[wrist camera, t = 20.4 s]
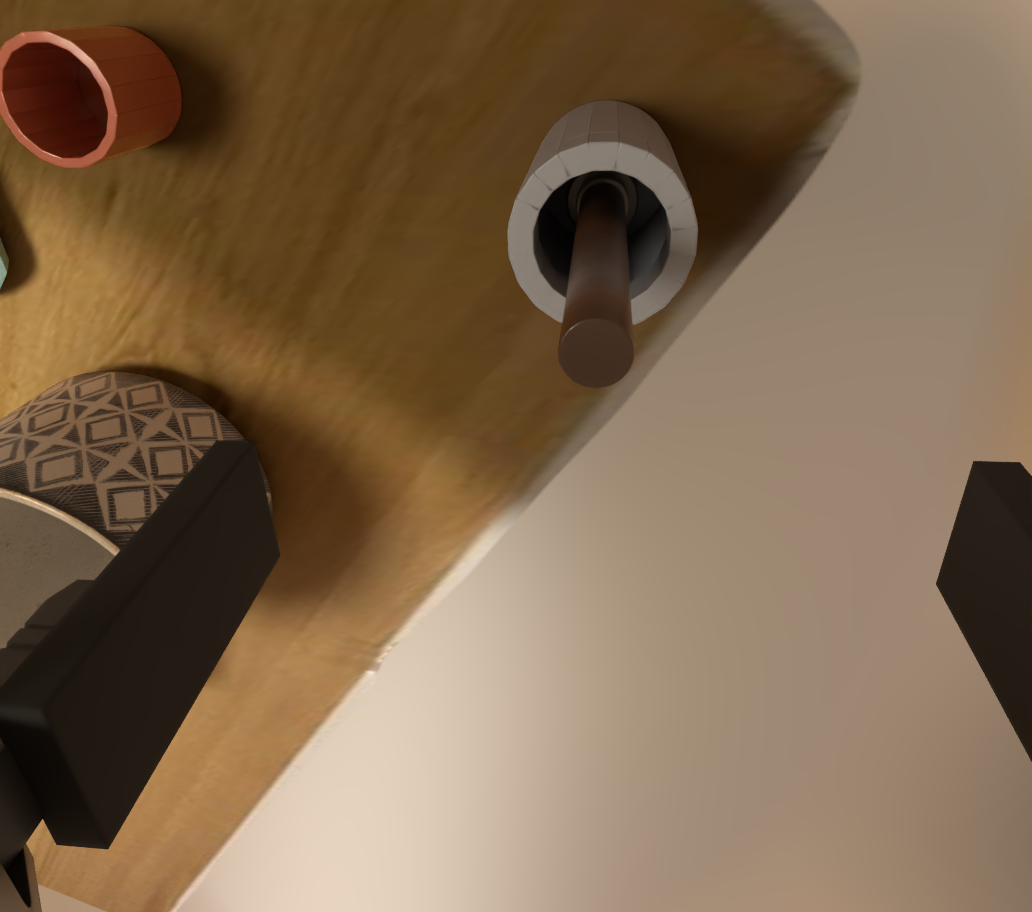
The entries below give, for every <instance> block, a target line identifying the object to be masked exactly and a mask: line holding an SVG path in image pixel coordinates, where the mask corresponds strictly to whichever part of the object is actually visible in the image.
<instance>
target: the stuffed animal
mask: <svg viewBox="0 0 1032 912" xmlns="http://www.w3.org/2000/svg"><path fill="white" fill-rule="evenodd" d="M8 264H9V258H8V256H7V254H6V251H5V249H4V246H3V244H2V240H1V237H0V289H1V286H2V284H3V281H4V279H5V277H6V274H7V270H8Z"/></svg>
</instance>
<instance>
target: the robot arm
mask: <svg viewBox="0 0 1032 912" xmlns="http://www.w3.org/2000/svg"><path fill="white" fill-rule="evenodd" d="M279 557H280V552H279V547H278V543H277V539H276V534H275V530H274V525H273V521H272V516H271V512H270V507H269V503H268V499H267V494H266V490H265V485H264V481H263V476H262V472H261V467H260V463H259V459H258V454H257V450H256V445H255V441H226V440H216V442H215V443H214V444H213V445H212V446H211V447H210V448H209V450H208V451H207V452H206V453H205V454H204V455H203V456H202V458H201V459H200V460H199V461H198V462H197V463H196V464H195V466H194V467H193V468H192V469H191V470H190V471H189V472H188V474H187V475H186V476H185V477H184V478H183V479H182V480H181V482H180V483H179V484H178V485H177V486H176V487H175V488H174V490H173V491H172V492H171V493H170V494H169V495H168V496H167V498H166V499H165V500H164V501H163V502H162V503H161V504H160V506H159V507H158V508H157V509H156V510H155V511H154V512H153V514H152V515H151V516H150V517H149V518H148V519H147V520H146V522H145V523H144V524H143V525H142V526H141V527H140V528H139V530H138V531H137V532H136V533H135V534H134V535H133V536H132V538H131V539H130V540H129V541H128V542H127V543H126V544H125V546H124V547H123V548H122V549H121V550H120V551H119V552H118V554H117V555H116V556H115V557H114V558H113V559H112V560H111V562H110V563H109V564H108V565H107V566H106V567H105V568H104V570H103V571H102V572H101V573H100V574H99V575H98V576H97V578H96V579H95V580H80V579H77V580H76V581H74V582H73V583H71V584H70V585H68V586H67V587H65V588H64V589H62V590H60V591H59V592H57V593H56V594H54V595H53V596H51V597H50V598H48V599H47V600H46V601H45V602H44V603H43V604H42V605H41V606H40V607H39V608H38V609H37V610H36V612H35V613H34V614H33V615H32V616H31V617H30V618H29V619H28V620H27V621H26V622H25V626H24V628H20V629H19V630H18V631H17V632H16V633H15V634H14V635H13V636H12V637H11V639H10V640H9V641H8V642H7V646H6V648H1V649H0V912H42V910H41V904H40V897H39V891H38V885H37V878H36V872H35V866H34V859H33V856H32V854H31V852H30V850H29V849H28V847H27V845H26V842H27V840H28V839H29V838H30V836H31V835H32V833H33V832H34V830H35V829H36V827H37V826H38V824H39V823H40V822H41V820H42V819H43V820H44V822H45V824H46V826H47V828H48V829H49V831H50V833H51V835H52V837H53V839H54V841H55V843H56V845H64V846H76V847H87V848H99V849H109V847H110V845H111V844H112V842H113V840H114V838H115V837H116V835H117V833H118V832H119V830H120V828H121V826H122V825H123V823H124V821H125V820H126V818H127V816H128V815H129V813H130V811H131V809H132V808H133V806H134V804H135V803H136V801H137V799H138V797H139V796H140V794H141V792H142V791H143V789H144V787H145V786H146V784H147V782H148V780H149V779H150V777H151V775H152V774H153V772H154V770H155V768H156V767H157V765H158V763H159V762H160V760H161V758H162V757H163V755H164V753H165V751H166V750H167V748H168V746H169V745H170V743H171V741H172V739H173V738H174V736H175V734H176V733H177V731H178V729H179V728H180V726H181V724H182V722H183V721H184V719H185V717H186V716H187V714H188V712H189V710H190V709H191V707H192V705H193V704H194V702H195V700H196V699H197V697H198V695H199V693H200V692H201V690H202V688H203V687H204V685H205V683H206V681H207V680H208V678H209V676H210V675H211V673H212V671H213V670H214V668H215V666H216V664H217V663H218V661H219V659H220V658H221V656H222V654H223V652H224V651H225V649H226V647H227V646H228V644H229V642H230V641H231V639H232V637H233V635H234V634H235V632H236V630H237V629H238V627H239V625H240V623H241V622H242V620H243V618H244V617H245V615H246V613H247V612H248V610H249V608H250V606H251V605H252V603H253V601H254V600H255V598H256V596H257V594H258V593H259V591H260V589H261V588H262V586H263V584H264V583H265V581H266V579H267V577H268V576H269V574H270V572H271V571H272V569H273V567H274V565H275V564H276V562H277V560H278V559H279ZM936 585H937V587H938V589H939V591H940V592H941V594H942V596H943V598H944V600H945V602H946V604H947V605H948V607H949V609H950V611H951V613H952V615H953V617H954V618H955V620H956V622H957V624H958V626H959V628H960V630H961V631H962V633H963V635H964V637H965V639H966V640H967V643H968V644H969V646H970V648H971V650H972V652H973V654H974V656H975V657H976V659H977V661H978V663H979V665H980V667H981V669H982V670H983V672H984V674H985V676H986V678H987V679H988V681H989V683H990V685H991V687H992V689H993V691H994V693H995V694H996V696H997V698H998V700H999V702H1000V704H1001V706H1002V708H1003V709H1004V711H1005V713H1006V715H1007V717H1008V718H1009V721H1010V722H1011V724H1012V726H1013V728H1014V730H1015V732H1016V734H1017V735H1018V737H1019V739H1020V741H1021V743H1022V745H1023V746H1024V748H1025V750H1026V752H1027V754H1028V755H1029V758H1030V760H1031V761H1032V476H1031V475H1030V474H1029V473H1028V471H1027V470H1026V469H1025V468H1024V467H1023V465H1022V464H1021V463H1020V462H986V461H984V462H983V461H973V464H972V468H971V471H970V474H969V477H968V481H967V484H966V487H965V491H964V494H963V497H962V500H961V504H960V507H959V510H958V513H957V517H956V520H955V523H954V527H953V530H952V533H951V537H950V540H949V543H948V546H947V550H946V553H945V556H944V559H943V563H942V566H941V569H940V572H939V576H938V579H937V582H936Z"/></svg>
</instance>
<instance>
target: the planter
mask: <svg viewBox="0 0 1032 912" xmlns="http://www.w3.org/2000/svg"><path fill="white" fill-rule="evenodd" d="M216 440H226V441H246V440H245V438H244V437H243V436H242V435H241V433H240V432H239V431H238V430H237V429H236V428H235V427H234V426H233V425H232V424H231V423H230V422H229V421H228V420H227V419H226V418H225V417H224V416H223V415H221V414H220V413H219V412H218V411H217V410H215V409H214V408H213V407H211V406H210V405H209V404H207V403H206V402H204V401H203V400H201V399H200V398H198V397H196V396H195V395H193V394H191V393H190V392H188V391H186V390H184V389H182V388H180V387H177V386H175V385H173V384H171V383H168V382H165V381H163V380H160V379H156V378H153V377H150V376H145V375H141V374H135V373H129V372H118V371H102V372H92V373H86V374H82V375H78V376H74V377H71V378H69V379H66V380H64V381H62V382H59V383H57V384H56V385H54V386H52V387H51V388H49V389H47V390H46V391H44V392H43V393H41V394H40V395H38V396H37V397H35V398H33V399H32V400H30V401H29V402H27V403H26V404H24V405H23V406H21V407H20V408H18V409H16V410H15V411H13V412H12V413H10V414H9V415H7V416H6V417H4V418H3V419H1V420H0V649H1V648H6V646H7V642H8V641H9V640H10V639H11V637H12V636H13V635H14V634H15V633H16V632H17V631H18V630H19V629H20V628H24V626H25V622H26V621H27V620H28V619H29V618H30V617H31V616H32V615H33V614H34V613H35V612H36V610H37V609H38V608H39V607H40V606H41V605H42V604H43V603H44V602H45V601H46V600H47V599H48V598H50V597H51V596H53V595H54V594H56V593H57V592H59V591H60V590H62V589H64V588H65V587H67V586H68V585H70V584H71V583H73V582H74V581H76V580H77V579H80V580H95V579H96V578H97V576H98V575H99V574H100V573H101V572H102V571H103V570H104V568H105V567H106V566H107V565H108V564H109V563H110V562H111V560H112V559H113V558H114V557H115V556H116V555H117V554H118V552H119V551H120V550H121V549H122V548H123V547H124V546H125V544H126V543H127V542H128V541H129V540H130V539H131V538H132V536H133V535H134V534H135V533H136V532H137V531H138V530H139V528H140V527H141V526H142V525H143V524H144V523H145V522H146V520H147V519H148V518H149V517H150V516H151V515H152V514H153V512H154V511H155V510H156V509H157V508H158V507H159V506H160V504H161V503H162V502H163V501H164V500H165V499H166V498H167V496H168V495H169V494H170V493H171V492H172V491H173V490H174V488H175V487H176V486H177V485H178V484H179V483H180V482H181V480H182V479H183V478H184V477H185V476H186V475H187V474H188V472H189V471H190V470H191V469H192V468H193V467H194V466H195V464H196V463H197V462H198V461H199V460H200V459H201V458H202V456H203V455H204V454H205V453H206V452H207V451H208V450H209V448H210V447H211V446H212V445H213V444H214V443H215V442H216ZM259 463H260V461H259ZM260 467H261V472H262V476H263V481H264V485H265V490H266V494H267V499H268V503H269V507H270V512H271V516H272V521H273V502H272V495H271V491H270V487H269V483H268V480H267V477H266V474H265V472H264V469H263V467H262V465H261V463H260Z"/></svg>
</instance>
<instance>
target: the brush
mask: <svg viewBox="0 0 1032 912" xmlns="http://www.w3.org/2000/svg"><path fill="white" fill-rule="evenodd" d="M566 202H567V210H568V214H569V216H570V218H571V220H572V222H573V223H574V225H575V226H576V233H575V240H574V246H573V253H572V260H571V267H570V273H569V280H568V287H567V294H566V300H565V307H564V314H563V321H562V327H561V334H560V341H559V348H558V358H559V362H560V365H561V367H562V369H563V371H564V372H565V374H566V375H567V376H568V377H569V378H570V379H571V380H572V381H574V382H576V383H577V384H579V385H582V386H585V387H589V388H602V387H607V386H610V385H612V384H615V383H616V382H618V381H619V380H621V379H622V378H623V377H624V376H625V375H626V374H627V373H628V371H629V370H630V368H631V366H632V363H633V360H634V338H633V323H632V307H631V292H630V276H629V261H628V245H627V230H626V227H627V226H628V225H629V224H630V223H631V222H632V220H633V219H634V217H635V215H636V212H637V209H638V203H639V196H638V188H637V181H636V178H635V177H632V176H629V175H625V174H622V173H619V172H616V171H591V172H588V173H585V174H582V175H579V176H577V177H574V178H571V179H570V184H569V188H568V193H567V201H566Z"/></svg>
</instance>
